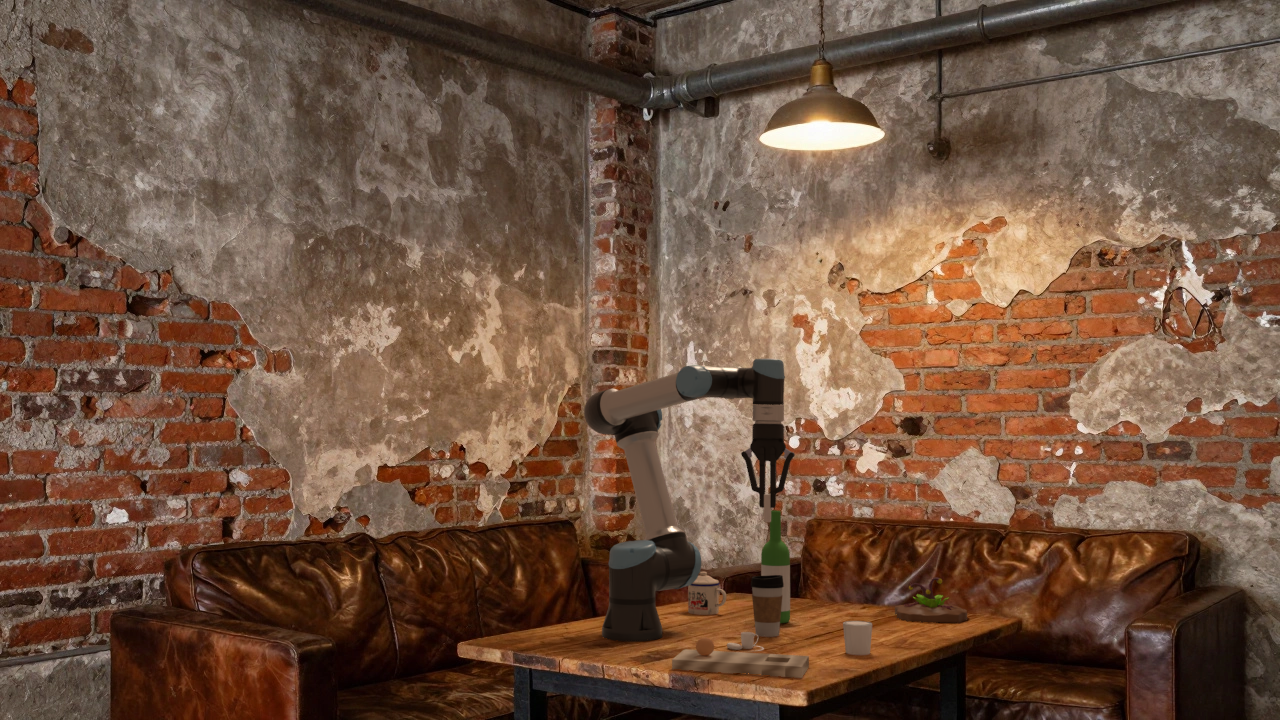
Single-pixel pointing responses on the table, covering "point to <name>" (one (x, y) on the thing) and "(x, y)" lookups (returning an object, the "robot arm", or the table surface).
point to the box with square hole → (743, 663)
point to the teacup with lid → (704, 595)
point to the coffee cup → (767, 604)
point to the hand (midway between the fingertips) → (767, 521)
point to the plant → (930, 608)
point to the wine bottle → (777, 562)
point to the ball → (705, 646)
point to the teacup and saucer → (745, 642)
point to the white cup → (857, 637)
